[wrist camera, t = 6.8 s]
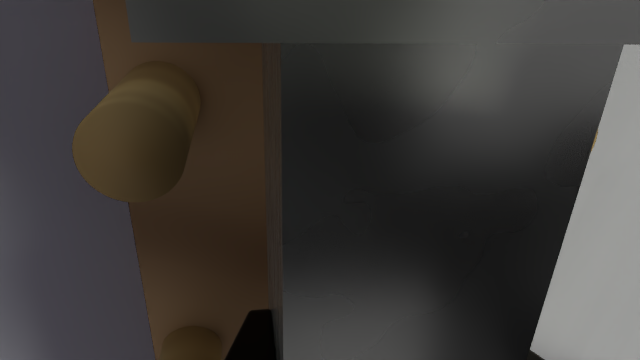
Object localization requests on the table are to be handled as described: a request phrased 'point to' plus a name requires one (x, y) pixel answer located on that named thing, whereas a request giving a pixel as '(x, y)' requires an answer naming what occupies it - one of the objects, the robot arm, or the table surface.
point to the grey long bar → (415, 160)
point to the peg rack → (184, 179)
